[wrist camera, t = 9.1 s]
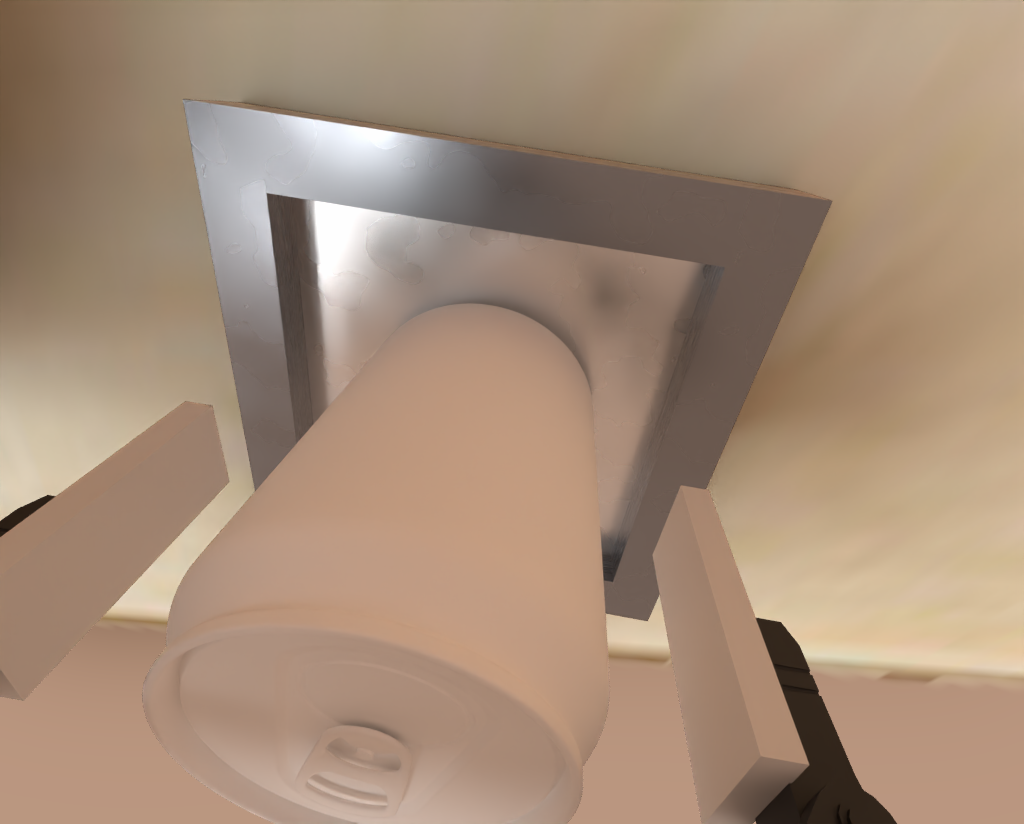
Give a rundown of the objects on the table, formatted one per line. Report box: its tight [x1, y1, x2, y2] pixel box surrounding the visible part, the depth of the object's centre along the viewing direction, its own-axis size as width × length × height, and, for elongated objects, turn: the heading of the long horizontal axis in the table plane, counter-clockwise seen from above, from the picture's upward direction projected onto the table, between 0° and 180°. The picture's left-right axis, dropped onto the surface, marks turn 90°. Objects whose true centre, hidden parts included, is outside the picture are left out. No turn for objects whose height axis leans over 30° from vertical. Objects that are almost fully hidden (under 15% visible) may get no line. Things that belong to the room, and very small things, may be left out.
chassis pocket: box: [183, 99, 832, 621], centre depth 18 cm, size 17×17×2 cm
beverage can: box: [142, 303, 610, 824], centre depth 13 cm, size 8×8×12 cm
